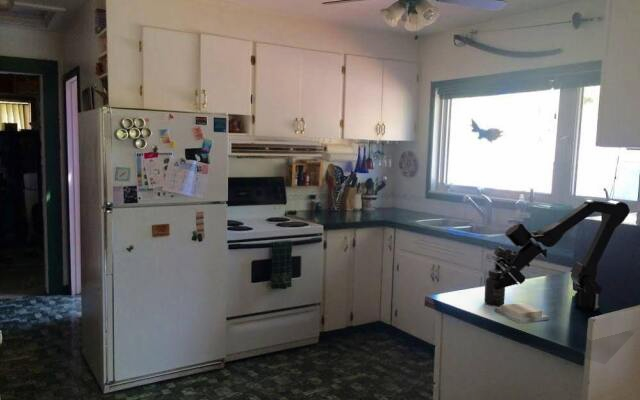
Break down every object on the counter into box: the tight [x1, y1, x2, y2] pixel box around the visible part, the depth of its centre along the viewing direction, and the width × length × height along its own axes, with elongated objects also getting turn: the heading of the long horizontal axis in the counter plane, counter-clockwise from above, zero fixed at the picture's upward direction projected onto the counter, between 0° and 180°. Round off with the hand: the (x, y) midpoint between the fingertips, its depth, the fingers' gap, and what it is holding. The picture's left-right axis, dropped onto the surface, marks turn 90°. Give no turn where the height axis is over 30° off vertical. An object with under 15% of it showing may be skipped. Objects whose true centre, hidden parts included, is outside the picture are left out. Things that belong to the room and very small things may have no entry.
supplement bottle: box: [483, 269, 506, 307], centre depth 184 cm, size 7×7×12 cm
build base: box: [493, 302, 550, 324], centre depth 172 cm, size 12×12×2 cm
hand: (491, 285), depth 184 cm, fingers open, 9 cm apart
